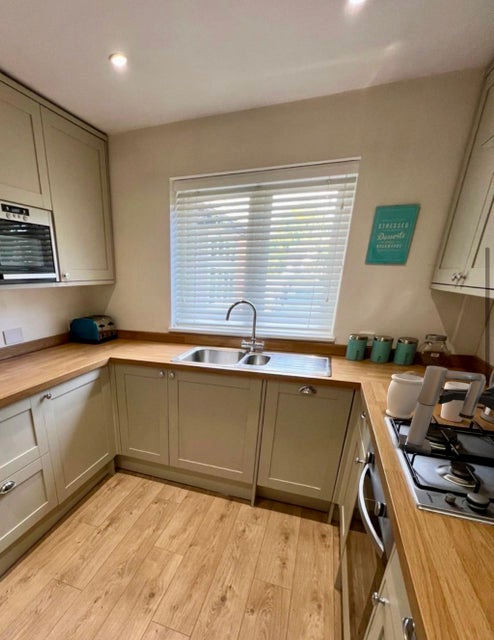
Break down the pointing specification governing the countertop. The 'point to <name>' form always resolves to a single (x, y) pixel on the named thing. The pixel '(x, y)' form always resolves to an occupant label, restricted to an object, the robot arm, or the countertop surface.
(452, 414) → the foam cup
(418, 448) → the tap base
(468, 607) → the countertop surface
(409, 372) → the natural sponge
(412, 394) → the jar
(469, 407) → the spout
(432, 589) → the countertop surface
